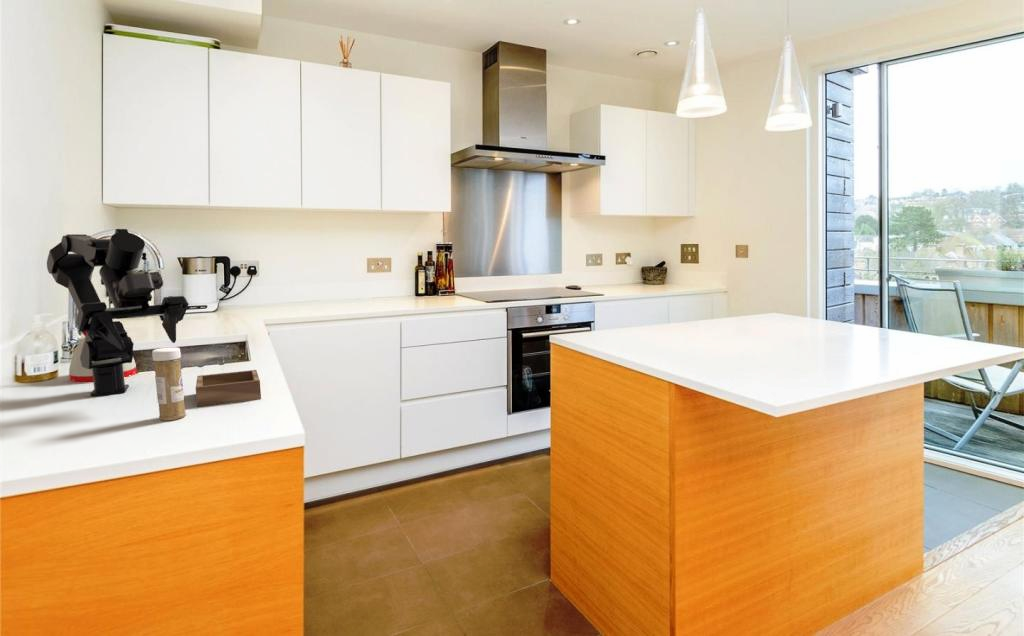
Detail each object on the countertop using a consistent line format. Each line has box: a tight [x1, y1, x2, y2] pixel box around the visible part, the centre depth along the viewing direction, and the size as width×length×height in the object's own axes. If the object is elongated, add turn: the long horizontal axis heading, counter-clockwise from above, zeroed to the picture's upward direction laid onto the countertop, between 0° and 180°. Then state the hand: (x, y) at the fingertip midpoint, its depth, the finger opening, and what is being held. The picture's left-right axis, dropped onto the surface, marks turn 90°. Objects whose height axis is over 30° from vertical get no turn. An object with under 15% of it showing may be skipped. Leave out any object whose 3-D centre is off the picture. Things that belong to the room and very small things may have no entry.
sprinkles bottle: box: [151, 346, 187, 421], centre depth 109 cm, size 5×5×14 cm
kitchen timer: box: [68, 332, 138, 383], centre depth 145 cm, size 14×14×15 cm
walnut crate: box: [195, 369, 262, 408], centre depth 125 cm, size 12×12×4 cm
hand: (149, 345), depth 113 cm, fingers open, 9 cm apart
